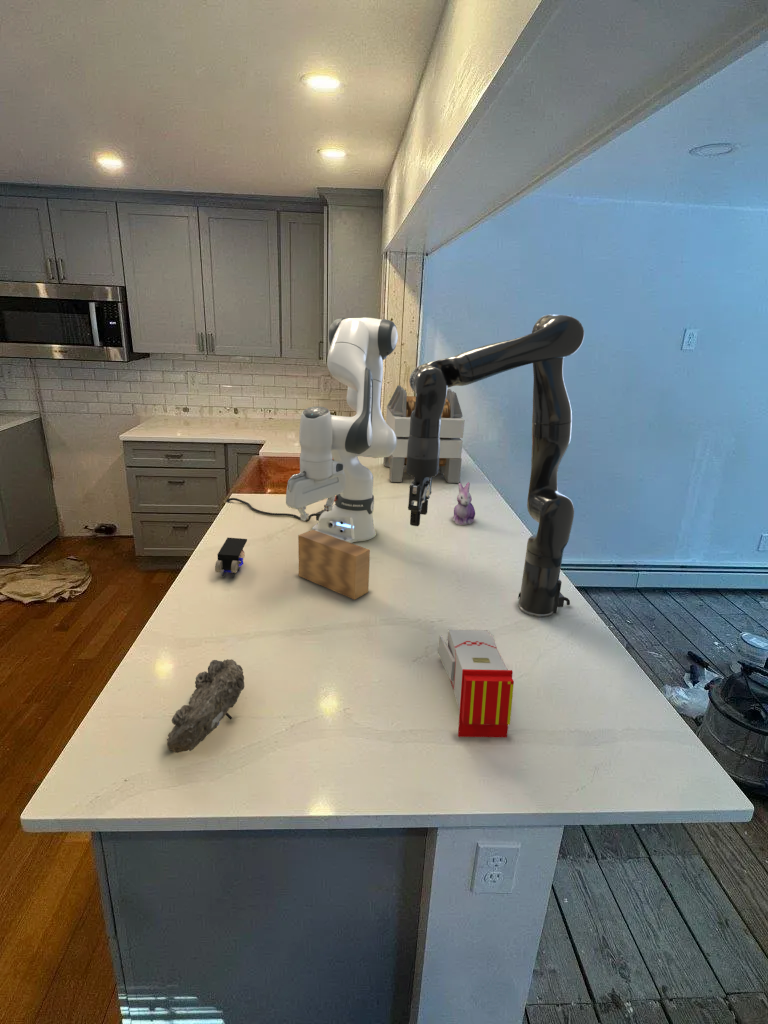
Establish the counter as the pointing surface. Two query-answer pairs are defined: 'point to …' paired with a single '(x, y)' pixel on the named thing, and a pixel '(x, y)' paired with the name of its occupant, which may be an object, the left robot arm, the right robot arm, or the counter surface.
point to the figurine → (464, 506)
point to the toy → (478, 682)
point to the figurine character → (230, 556)
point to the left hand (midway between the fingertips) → (316, 515)
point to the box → (334, 563)
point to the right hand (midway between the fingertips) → (418, 519)
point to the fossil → (206, 705)
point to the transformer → (449, 435)
